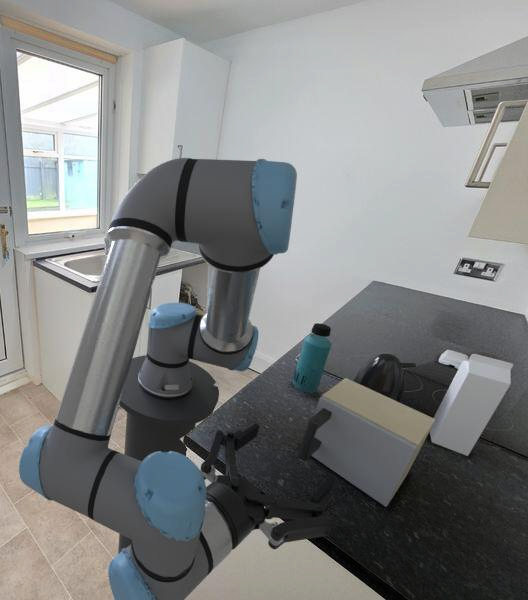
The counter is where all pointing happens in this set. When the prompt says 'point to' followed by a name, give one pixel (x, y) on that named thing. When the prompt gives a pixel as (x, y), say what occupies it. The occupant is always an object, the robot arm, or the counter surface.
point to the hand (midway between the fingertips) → (290, 453)
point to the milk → (470, 402)
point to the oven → (383, 414)
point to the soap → (452, 358)
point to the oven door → (357, 449)
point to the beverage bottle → (312, 359)
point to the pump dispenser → (384, 375)
